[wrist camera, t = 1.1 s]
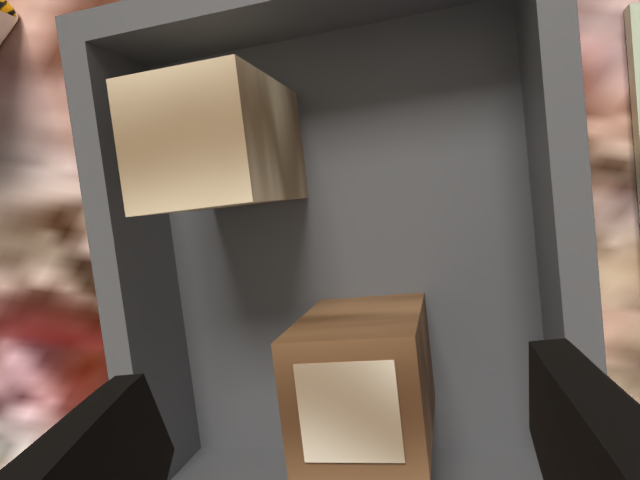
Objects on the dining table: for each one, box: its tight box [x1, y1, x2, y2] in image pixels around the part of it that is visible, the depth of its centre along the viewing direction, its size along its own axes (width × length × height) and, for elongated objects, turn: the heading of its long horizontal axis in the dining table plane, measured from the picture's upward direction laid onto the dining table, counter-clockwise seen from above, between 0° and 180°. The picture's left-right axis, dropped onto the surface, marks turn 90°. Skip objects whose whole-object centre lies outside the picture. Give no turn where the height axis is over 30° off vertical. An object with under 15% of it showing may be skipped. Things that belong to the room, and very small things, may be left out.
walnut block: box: [271, 292, 435, 480], centre depth 17 cm, size 4×4×6 cm
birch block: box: [106, 54, 309, 217], centre depth 18 cm, size 4×4×6 cm
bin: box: [55, 0, 607, 480], centre depth 19 cm, size 18×16×4 cm
